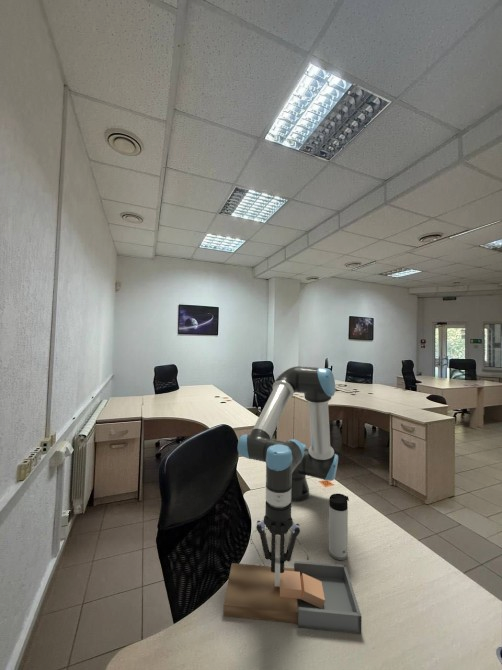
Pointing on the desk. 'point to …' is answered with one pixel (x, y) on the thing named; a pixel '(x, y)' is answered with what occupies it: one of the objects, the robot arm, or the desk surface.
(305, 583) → the tile
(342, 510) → the travel mug
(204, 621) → the desk surface
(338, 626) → the tray
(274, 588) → the wooden plank
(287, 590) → the tile
